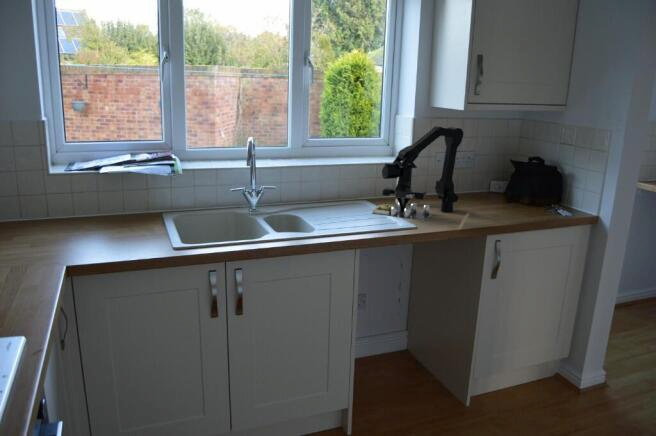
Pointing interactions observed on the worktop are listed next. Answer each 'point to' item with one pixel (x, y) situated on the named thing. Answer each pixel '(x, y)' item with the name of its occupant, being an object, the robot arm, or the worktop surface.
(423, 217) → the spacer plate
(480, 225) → the worktop surface
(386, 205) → the hex nut
